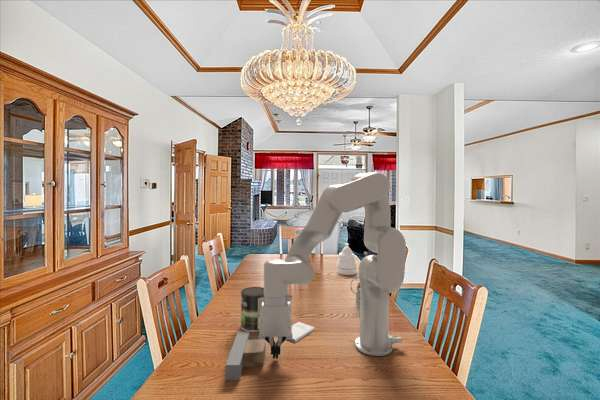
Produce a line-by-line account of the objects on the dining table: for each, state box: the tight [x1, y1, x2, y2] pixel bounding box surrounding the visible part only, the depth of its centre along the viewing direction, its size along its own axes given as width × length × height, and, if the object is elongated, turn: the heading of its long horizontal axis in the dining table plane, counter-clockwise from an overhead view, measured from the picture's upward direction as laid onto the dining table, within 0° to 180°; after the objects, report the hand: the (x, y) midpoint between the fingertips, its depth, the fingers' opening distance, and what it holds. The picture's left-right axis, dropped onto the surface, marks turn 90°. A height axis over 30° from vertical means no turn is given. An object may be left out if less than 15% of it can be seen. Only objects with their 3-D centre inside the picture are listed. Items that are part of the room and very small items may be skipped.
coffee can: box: [240, 286, 264, 333], centre depth 121 cm, size 10×10×14 cm
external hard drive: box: [288, 321, 316, 343], centre depth 117 cm, size 2×8×12 cm
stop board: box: [224, 331, 250, 381], centre depth 98 cm, size 4×20×4 cm, turn 1°
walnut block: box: [243, 339, 266, 367], centre depth 99 cm, size 6×8×4 cm
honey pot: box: [336, 242, 358, 276], centre depth 200 cm, size 13×13×18 cm
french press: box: [350, 251, 369, 309], centre depth 144 cm, size 10×12×25 cm
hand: (275, 356), depth 98 cm, fingers closed
